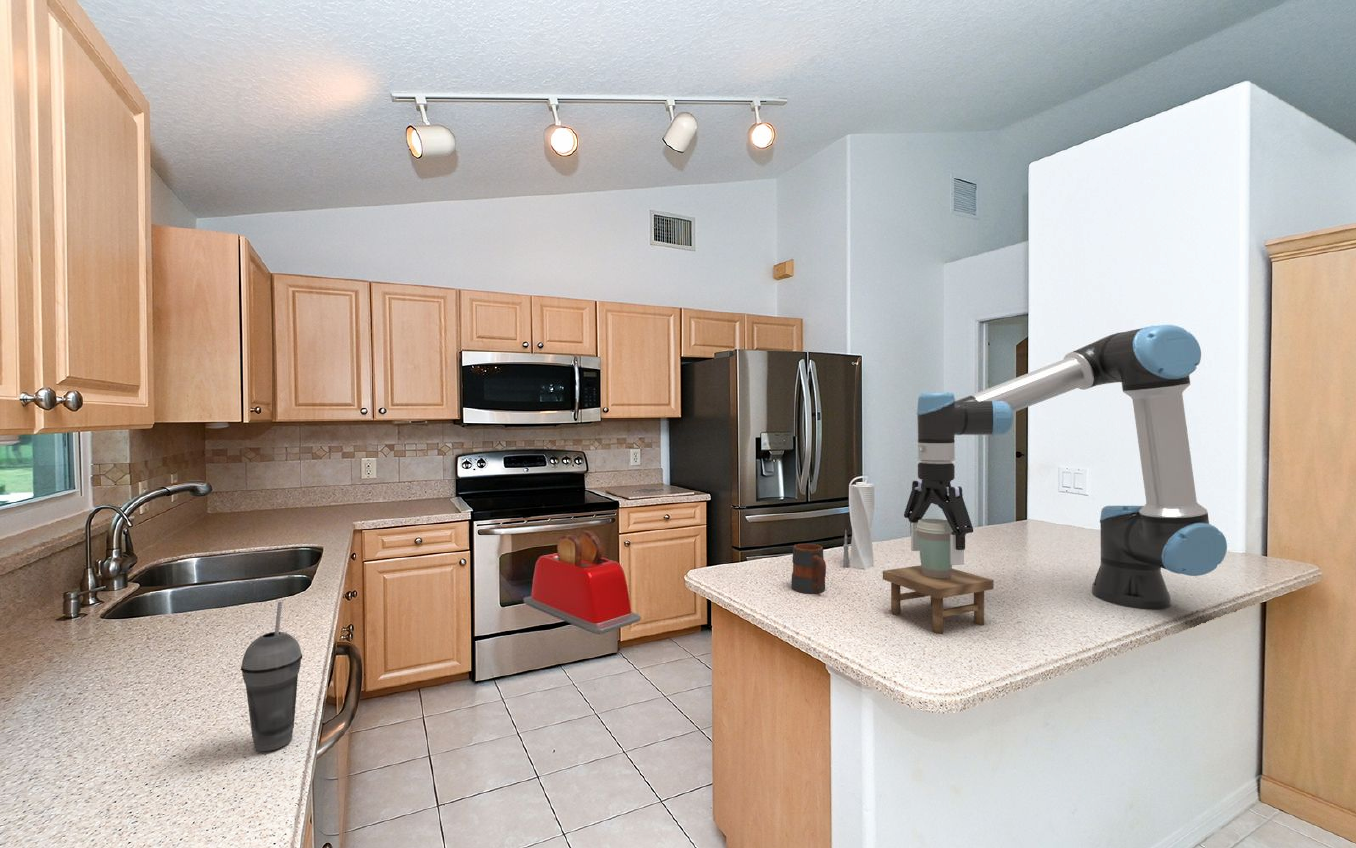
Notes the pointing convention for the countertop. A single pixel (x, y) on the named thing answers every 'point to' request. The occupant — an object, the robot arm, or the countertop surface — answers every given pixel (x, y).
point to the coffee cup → (934, 547)
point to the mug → (808, 569)
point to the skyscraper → (860, 525)
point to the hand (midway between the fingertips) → (936, 557)
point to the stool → (938, 592)
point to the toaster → (582, 586)
